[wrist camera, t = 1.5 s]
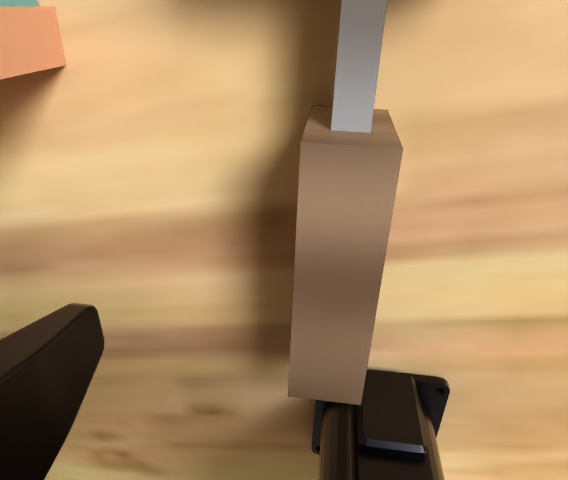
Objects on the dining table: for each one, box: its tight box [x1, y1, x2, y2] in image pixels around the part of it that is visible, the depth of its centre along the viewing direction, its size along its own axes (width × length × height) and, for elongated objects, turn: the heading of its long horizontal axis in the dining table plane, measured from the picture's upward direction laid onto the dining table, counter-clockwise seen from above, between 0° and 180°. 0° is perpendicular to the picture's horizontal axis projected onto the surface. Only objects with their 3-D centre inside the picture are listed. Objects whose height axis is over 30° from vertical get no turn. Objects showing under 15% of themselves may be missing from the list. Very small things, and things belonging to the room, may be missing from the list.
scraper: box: [288, 0, 403, 405], centre depth 15 cm, size 17×8×5 cm, turn 178°
